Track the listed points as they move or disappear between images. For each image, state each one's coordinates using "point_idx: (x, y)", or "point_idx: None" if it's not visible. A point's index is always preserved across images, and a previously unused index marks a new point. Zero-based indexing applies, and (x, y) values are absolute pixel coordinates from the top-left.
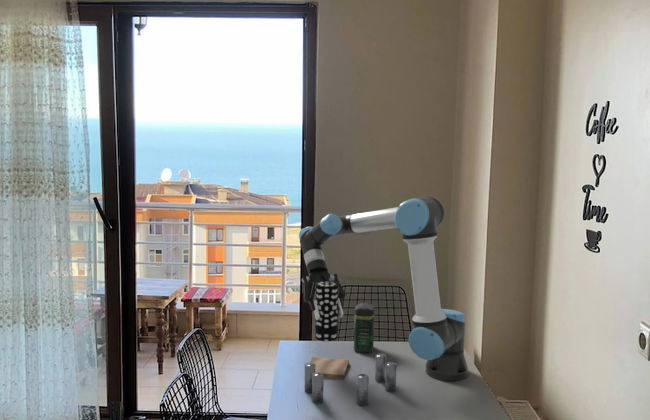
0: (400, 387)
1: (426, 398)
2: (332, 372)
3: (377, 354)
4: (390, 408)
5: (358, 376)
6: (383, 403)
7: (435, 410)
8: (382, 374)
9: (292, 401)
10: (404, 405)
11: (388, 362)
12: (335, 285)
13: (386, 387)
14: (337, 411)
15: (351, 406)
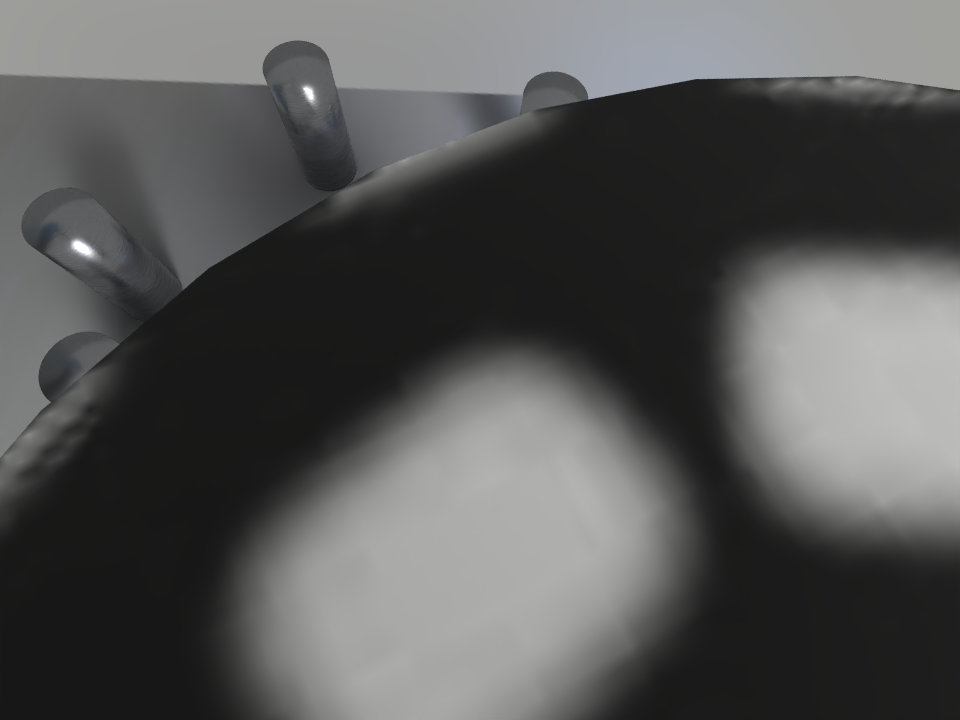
0: (89, 320)
1: (4, 204)
2: None
3: None
4: (213, 126)
5: (322, 67)
6: (232, 167)
7: (17, 104)
8: None
9: None
10: (140, 147)
11: (69, 245)
12: (141, 471)
13: (171, 274)
14: (449, 113)
15: (384, 148)
